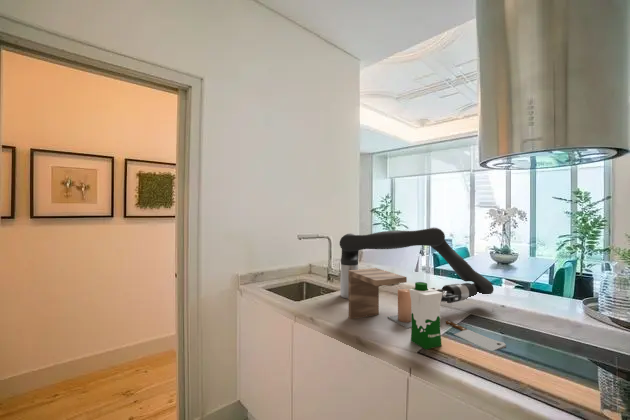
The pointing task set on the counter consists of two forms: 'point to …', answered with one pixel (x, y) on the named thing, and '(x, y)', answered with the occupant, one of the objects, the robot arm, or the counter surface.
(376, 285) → the walnut shelf
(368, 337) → the counter surface
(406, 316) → the peach cylinder
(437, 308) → the milk carton
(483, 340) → the kitchen cleaver
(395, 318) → the slate mat
